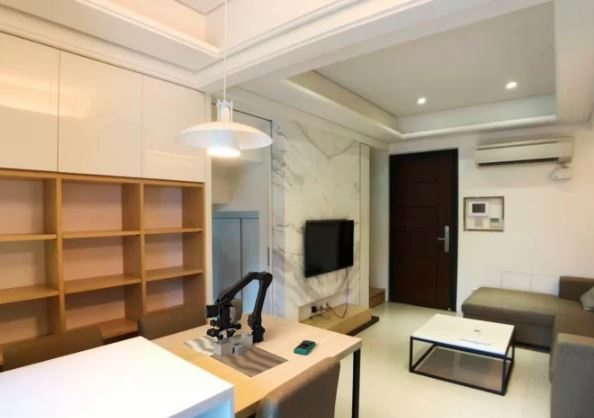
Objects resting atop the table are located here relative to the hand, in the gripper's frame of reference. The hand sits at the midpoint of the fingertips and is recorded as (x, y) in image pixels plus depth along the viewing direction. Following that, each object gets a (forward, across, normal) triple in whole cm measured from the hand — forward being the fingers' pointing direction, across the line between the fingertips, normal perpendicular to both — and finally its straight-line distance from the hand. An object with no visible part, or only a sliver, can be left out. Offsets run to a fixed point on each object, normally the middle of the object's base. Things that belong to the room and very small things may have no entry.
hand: (224, 345), depth 185 cm
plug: (+1, 0, +5) cm, 5 cm away
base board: (+2, 0, +8) cm, 8 cm away
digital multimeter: (+2, -29, +31) cm, 43 cm away
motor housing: (+2, 0, +8) cm, 8 cm away
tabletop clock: (+2, -23, -26) cm, 35 cm away
